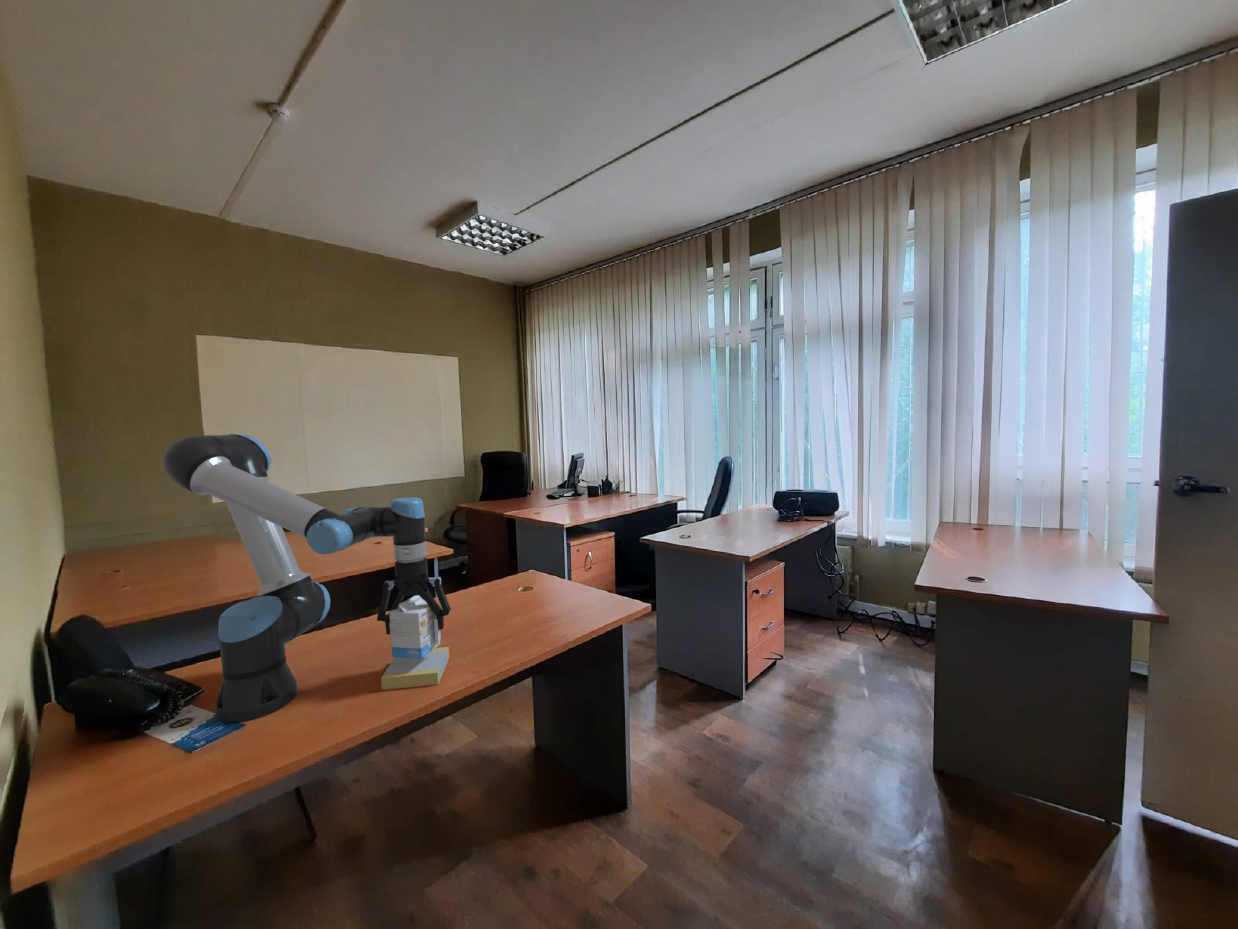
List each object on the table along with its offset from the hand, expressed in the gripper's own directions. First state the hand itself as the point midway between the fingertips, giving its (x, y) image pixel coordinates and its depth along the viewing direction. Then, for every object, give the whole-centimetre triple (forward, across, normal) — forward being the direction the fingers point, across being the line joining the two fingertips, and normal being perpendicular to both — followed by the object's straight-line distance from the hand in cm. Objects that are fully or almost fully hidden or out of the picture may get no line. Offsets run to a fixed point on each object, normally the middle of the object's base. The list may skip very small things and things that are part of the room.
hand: (416, 643), depth 122 cm
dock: (+8, 0, 0) cm, 8 cm away
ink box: (+2, 0, 0) cm, 2 cm away
